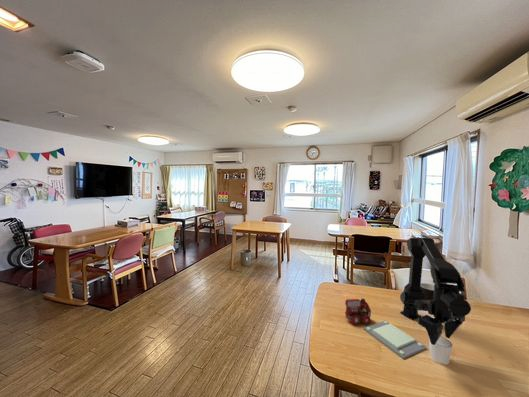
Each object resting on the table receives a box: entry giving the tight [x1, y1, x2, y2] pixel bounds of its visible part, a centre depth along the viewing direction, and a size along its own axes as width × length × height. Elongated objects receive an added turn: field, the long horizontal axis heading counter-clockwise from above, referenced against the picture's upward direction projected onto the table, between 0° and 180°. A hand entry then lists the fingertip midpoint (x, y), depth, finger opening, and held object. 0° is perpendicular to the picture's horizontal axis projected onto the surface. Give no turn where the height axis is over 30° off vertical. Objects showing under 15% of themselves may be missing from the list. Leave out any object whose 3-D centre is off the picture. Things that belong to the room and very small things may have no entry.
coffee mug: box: [420, 282, 434, 300], centre depth 118 cm, size 12×9×10 cm
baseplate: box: [363, 320, 427, 360], centre depth 92 cm, size 14×18×2 cm
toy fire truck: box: [344, 298, 372, 326], centre depth 104 cm, size 7×12×10 cm, turn 96°
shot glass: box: [428, 335, 453, 366], centre depth 81 cm, size 7×7×7 cm
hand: (440, 340), depth 81 cm, fingers open, 9 cm apart
